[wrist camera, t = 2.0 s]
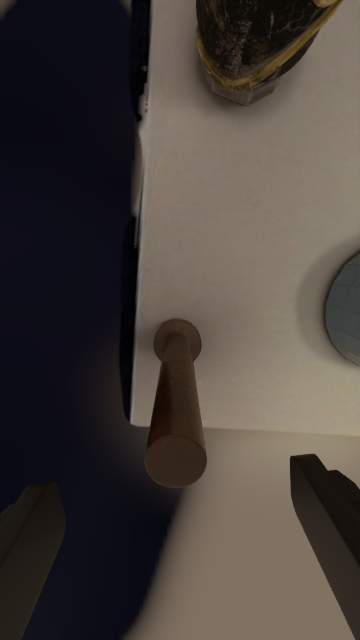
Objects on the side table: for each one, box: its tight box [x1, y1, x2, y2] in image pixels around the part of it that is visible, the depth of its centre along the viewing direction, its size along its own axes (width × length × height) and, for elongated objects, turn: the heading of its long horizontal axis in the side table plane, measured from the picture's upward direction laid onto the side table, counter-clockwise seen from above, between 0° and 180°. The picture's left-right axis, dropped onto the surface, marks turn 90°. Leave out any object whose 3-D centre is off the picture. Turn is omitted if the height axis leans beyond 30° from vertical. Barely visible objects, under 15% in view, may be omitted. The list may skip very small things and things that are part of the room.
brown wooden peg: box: [145, 319, 207, 488], centre depth 17 cm, size 4×4×15 cm
